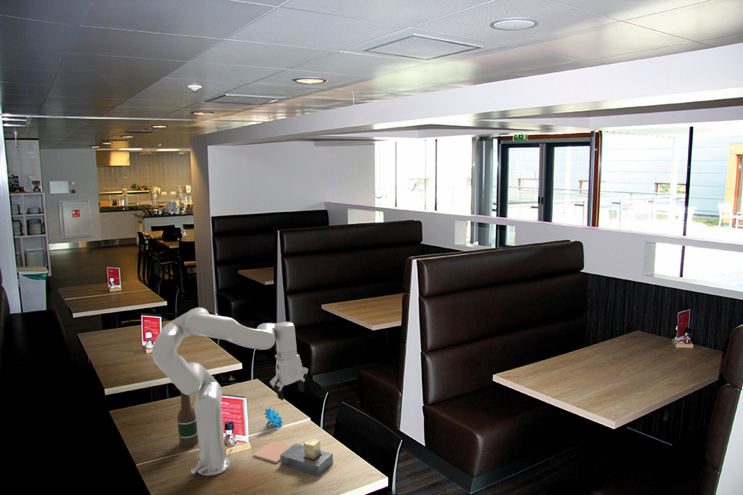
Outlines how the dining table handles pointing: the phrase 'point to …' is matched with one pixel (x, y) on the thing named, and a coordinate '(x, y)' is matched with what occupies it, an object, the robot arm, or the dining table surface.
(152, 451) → the dining table surface
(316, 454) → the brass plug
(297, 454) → the grey block with hole
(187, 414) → the beer bottle
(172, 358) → the robot arm
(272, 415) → the gear
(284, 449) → the terracotta tile
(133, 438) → the dining table surface
